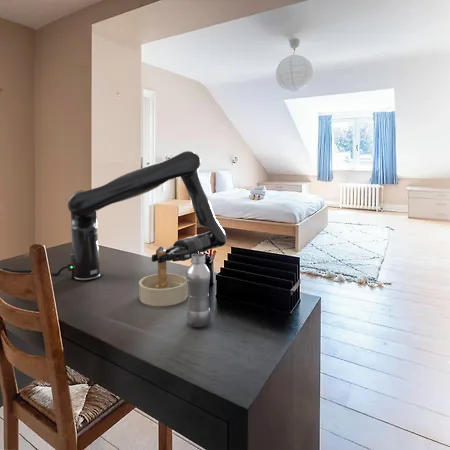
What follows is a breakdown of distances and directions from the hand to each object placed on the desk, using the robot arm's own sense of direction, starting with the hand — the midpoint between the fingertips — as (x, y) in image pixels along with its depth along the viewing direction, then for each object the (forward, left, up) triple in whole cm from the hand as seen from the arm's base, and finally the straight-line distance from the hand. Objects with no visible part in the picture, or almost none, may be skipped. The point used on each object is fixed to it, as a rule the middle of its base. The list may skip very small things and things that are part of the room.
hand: (155, 259), depth 113 cm
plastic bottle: (+18, -15, -14) cm, 27 cm away
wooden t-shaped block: (+1, +3, -12) cm, 12 cm away
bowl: (+2, +1, -14) cm, 14 cm away
